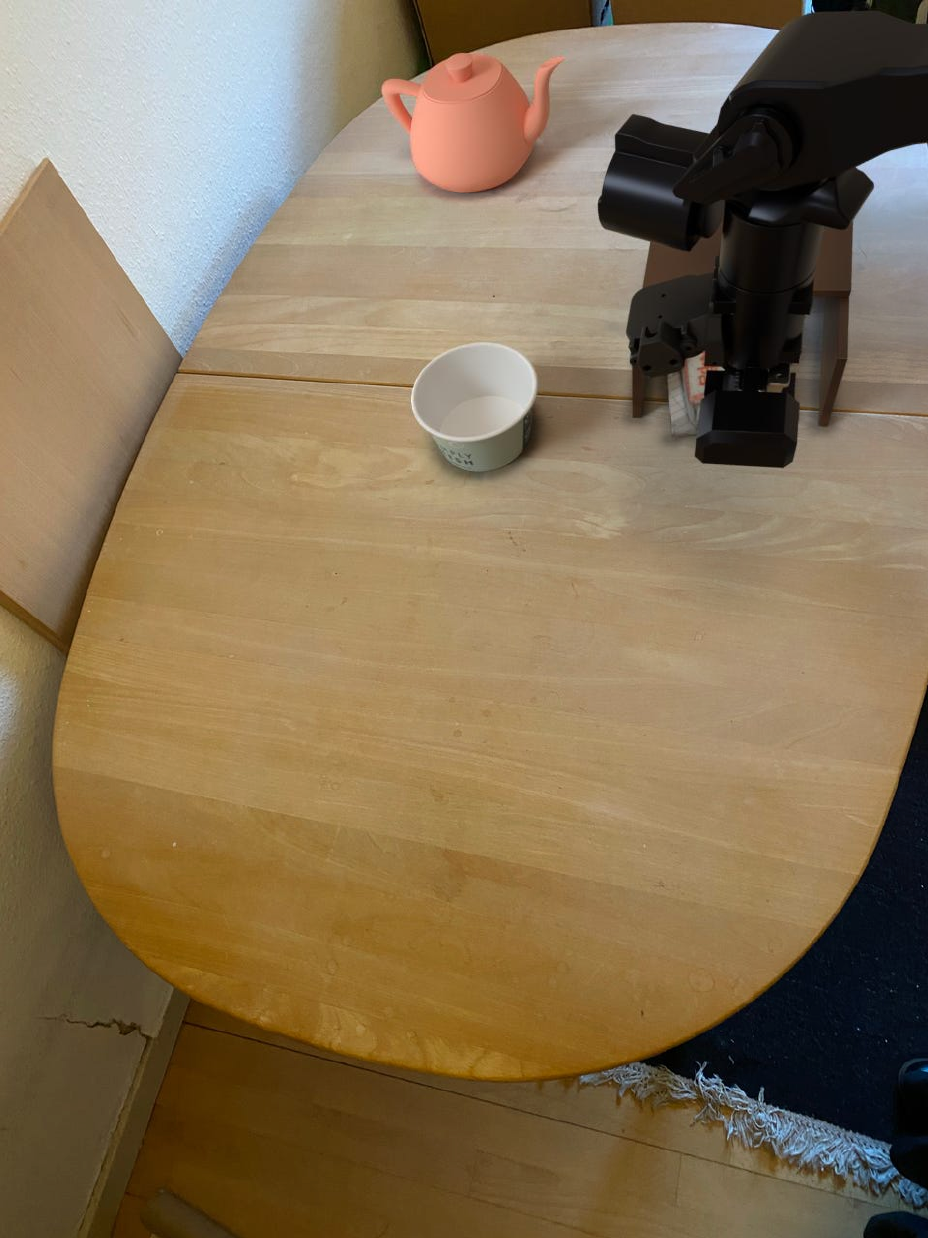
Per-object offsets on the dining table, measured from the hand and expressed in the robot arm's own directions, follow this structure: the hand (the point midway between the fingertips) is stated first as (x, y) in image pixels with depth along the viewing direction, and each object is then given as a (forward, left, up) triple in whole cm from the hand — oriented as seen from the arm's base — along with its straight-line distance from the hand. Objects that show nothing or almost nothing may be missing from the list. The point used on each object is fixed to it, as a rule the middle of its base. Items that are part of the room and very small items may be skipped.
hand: (741, 427), depth 65 cm
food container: (+24, -7, -11) cm, 27 cm away
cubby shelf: (+1, -20, -11) cm, 22 cm away
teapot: (+33, -49, -11) cm, 60 cm away
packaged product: (+2, -17, -11) cm, 20 cm away
